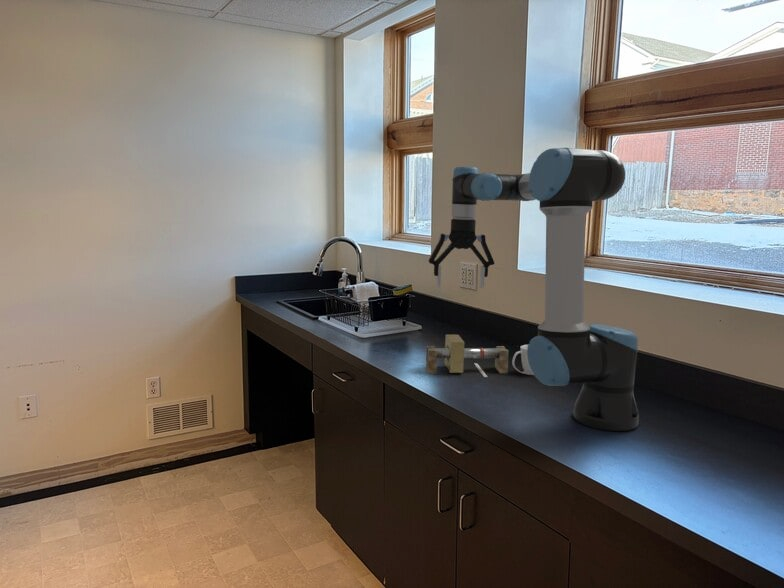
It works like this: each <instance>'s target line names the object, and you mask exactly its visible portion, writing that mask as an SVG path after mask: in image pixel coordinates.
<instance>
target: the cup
mask: <svg viewBox="0 0 784 588" xmlns="http://www.w3.org/2000/svg"><path fill="white" fill-rule="evenodd" d="M527 349H528V344H523V345H520V350H519V351H516V352H515V353H514V355H513V357H512V361H511V364H512V367H513V368H514V370H515V371H517V372H518V373H521V374H523V375H529V376H535V375H534V373H533V372H532V370H531V368H530V365H529V362H528V356H527ZM518 354H520V357H521V365H522V369H523V370H522V371H520V370H519V368H517V367H516V364H515V361H516V357H517V356H518Z"/></svg>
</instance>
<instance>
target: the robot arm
mask: <svg viewBox="0 0 784 588" xmlns="http://www.w3.org/2000/svg"><path fill="white" fill-rule="evenodd" d="M451 180H452V190H451V191H452V194H451V195H452V196H451V197H452V198H451V214H450V215H451V217H452V218H451V220H450V233H449V234H445V233H440V235H439V240H438V242H437V244H436V245H435V247H434V250H433V251H432V253H431V255H430V257H429V259H428V263H429V264H431V265H433V275H434V276H435V277H436V287H437V288H441V280H442V279H441V278H442V275H441V274H442V266H441V263H442V262H443V261H444V260H445V259H446V257H447V256H448V255H450V253H451V252H452V251H453V250H454V249H457V250H460V249H464V250H468V249H469V248H470V250H471V251H472V252H473V254H475V256H476V258H477V259H478V260H479V261H480V263H482V265H480V271H479V273H480V275H479V276H480V278H479V287H480V288H481V289H485V278H487V277H488V275H489V268H490V266H494V265H495V260H494V258H493V256H492V253H491V251H490V248H489V247H488V245H487V240H486V236H485V234H482V233H481V234H478V235H476V234H477V233H476V219H475V218H476V217H477V205H478V203H477V202H478V201H483V202H484V201H485V202H486V201H488V202H489V201H520V202H521V201H522V202H530V201H532V202H533V201H538V202H539V211H540V212H541V213H543V214H544V216H545V220H546V221H545V278H544V279H545V291H544V293H545V294H544V296H545V297H544V319H543V321H542V322H541V323H540V324H539V325H538V326H537V335H536V336H534V337H533V338H531V339H530V340H529V343H528V344H527V345H528V349H527V356H528V362H529V365H530V368H531V370H532V372H533V373H534V375H533V376H534V377H535V378H536V379H537V380H538V381H539V382H540V383H542V384H543V385H545V386H549V387H554V386H555V387H556V386H560V387H566V386H567V385H568V386H569V385H576V384H582V386H581V387H582V388H581V390H580V392H579V394H578V396H577V398H576V400H575V403H574V405H573V411H572V412H573V413H572V416H573V418H574V419H575V420H576V421H577V422H578V423H580V424H582V425H584V426H587V427H589V428H593V429H597V430H603V431H610V432H614V431H615V432H626V431H631V430H634V429H636V428H637V427H638V425H639V418H640V415H639V410H638V406H637V402H636V399H635V395H634V388H635V377H636V369H637V360H638V352H639V349H638V344H639V343H638V342H639V340H638V336H637V334H636V333H634V332H633V331H631V330H627V329H624V328H620V327H615V326H610V325H606V324H604V325H603V324H596V323H595V324H594V323H593V324H592V323H591V324H589V325H588V324H587V323H586V322H585V320H584V304H585V299H584V298H585V297H584V295H585V258H586V257H585V255H586V254H585V249H586V248H585V247H586V246H585V245H586V240H585V238H586V216H587V214H588V213H590V211H591V210H592V209H593V205H594V204H593V202H600V201H601V202H602V201H606V200H609V199H610V198H613V197H614V196H615V195H617V194H618V192H620V191H621V189H622V188H623V186H624V184H625V180H626V169H625V166H624V163H623V162H622V160H621V159H620V157H618V156H617V155H615V154H614V153H612V152H609V151H608V150H607V151H606V150H602V149H601V150H600V149H586V148H585V149H583V148H573V147H560V148H559V147H556V148H548V149H546V150H544V151H543V152H541V153H540V154H539V155H538V157H536V159H535V161H534V162H533V164H532V167H531V169H530V172H528V173H520V174H507V173H505V174H503V173H490V172H487V173H486V172H483V173H482V172H481V173H479V169H478V168H477V167H474V166H456V167H454V169H453V176H452V179H451ZM477 200H478V201H477ZM448 239H449V241H450V243H449V244H448V246H447V247H446V248H445V250H444V251H443V252H442V253H441V254H440V255H439V256H438V254H439V252H440V251H441V249H442V248H443V246H444V243H445V242H446V241H447V240H448ZM476 241H478V242H479V243H480V244H481V247H482V250H483V251H484V254H485V256H486V258H487V260H488V261H487V260H486V259H485V258H484V256H483V255H482V254H481V252H480V251H479V250H478V248H477V247H476V246H475V245H474V244H475V242H476ZM437 256H438V257H437Z"/></svg>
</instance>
